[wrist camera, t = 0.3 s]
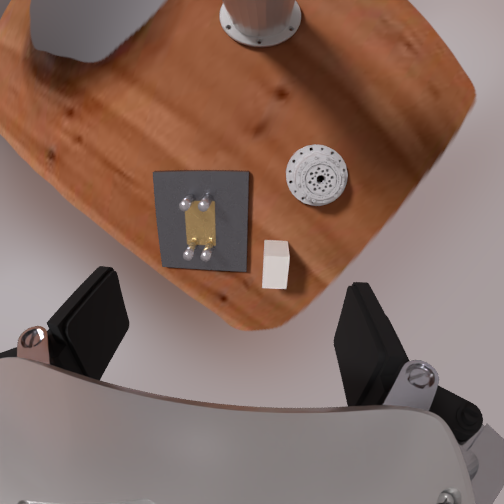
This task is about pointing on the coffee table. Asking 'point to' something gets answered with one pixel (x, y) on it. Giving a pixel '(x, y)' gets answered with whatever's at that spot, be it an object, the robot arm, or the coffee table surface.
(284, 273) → the jaw block
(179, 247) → the base plate
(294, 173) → the mechanical component
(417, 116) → the coffee table surface
